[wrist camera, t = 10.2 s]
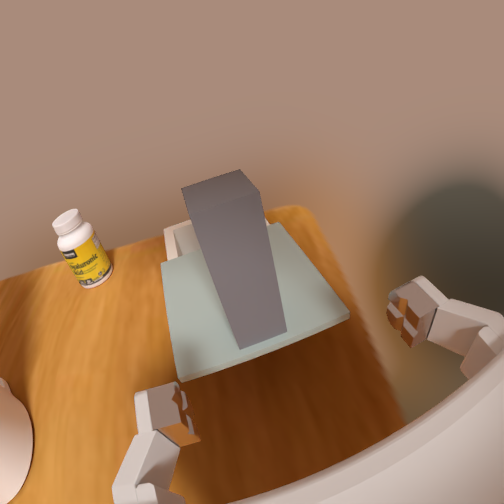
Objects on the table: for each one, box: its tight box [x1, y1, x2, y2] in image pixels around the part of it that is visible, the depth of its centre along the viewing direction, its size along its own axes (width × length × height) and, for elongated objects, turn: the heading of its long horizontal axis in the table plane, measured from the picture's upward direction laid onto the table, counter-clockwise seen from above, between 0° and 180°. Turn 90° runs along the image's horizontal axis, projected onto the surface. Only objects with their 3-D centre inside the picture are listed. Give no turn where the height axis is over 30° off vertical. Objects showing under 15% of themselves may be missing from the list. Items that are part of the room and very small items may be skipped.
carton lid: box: [160, 169, 350, 383], centre depth 20 cm, size 12×11×10 cm
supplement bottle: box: [52, 209, 113, 288], centre depth 36 cm, size 5×5×10 cm
